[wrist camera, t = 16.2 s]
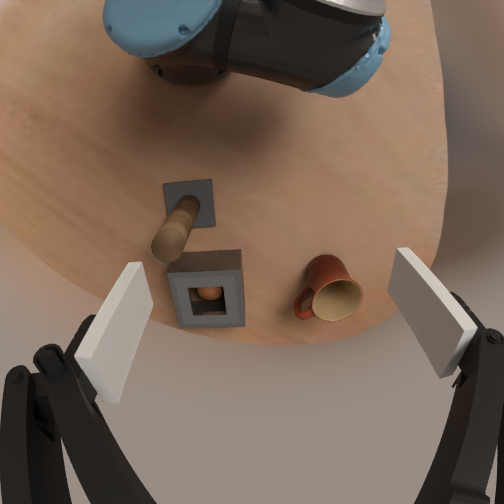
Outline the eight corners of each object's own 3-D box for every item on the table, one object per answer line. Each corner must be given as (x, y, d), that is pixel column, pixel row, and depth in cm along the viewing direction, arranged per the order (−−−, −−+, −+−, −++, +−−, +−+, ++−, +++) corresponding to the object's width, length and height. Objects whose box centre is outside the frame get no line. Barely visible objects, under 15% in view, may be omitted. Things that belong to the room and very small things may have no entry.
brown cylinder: (176, 195, 47) (148, 234, 33) (199, 193, 47) (179, 232, 33) (179, 217, 49) (154, 263, 35) (201, 215, 49) (184, 261, 35)
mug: (333, 239, 52) (350, 268, 43) (352, 272, 56) (370, 304, 47) (278, 273, 55) (284, 307, 46) (301, 303, 59) (310, 338, 50)
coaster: (164, 183, 47) (163, 184, 46) (211, 179, 47) (210, 180, 46) (170, 227, 50) (170, 228, 50) (215, 224, 50) (215, 225, 50)
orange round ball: (197, 271, 54) (195, 280, 51) (221, 270, 54) (220, 279, 51) (201, 291, 56) (199, 300, 53) (223, 290, 56) (222, 299, 53)
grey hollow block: (175, 252, 53) (166, 273, 47) (240, 249, 53) (240, 269, 47) (185, 305, 58) (180, 328, 52) (245, 303, 58) (245, 326, 52)
